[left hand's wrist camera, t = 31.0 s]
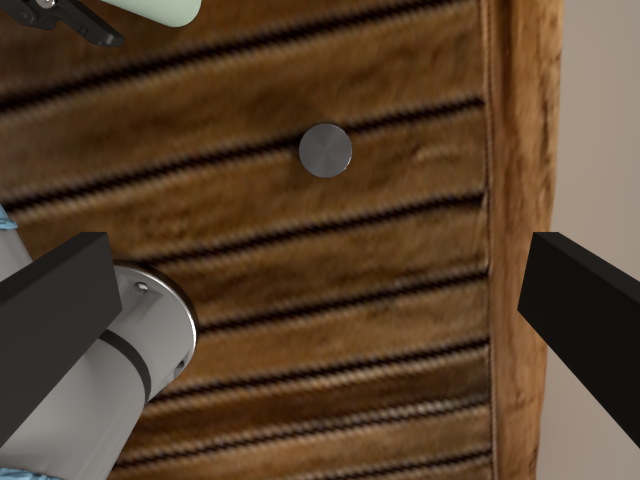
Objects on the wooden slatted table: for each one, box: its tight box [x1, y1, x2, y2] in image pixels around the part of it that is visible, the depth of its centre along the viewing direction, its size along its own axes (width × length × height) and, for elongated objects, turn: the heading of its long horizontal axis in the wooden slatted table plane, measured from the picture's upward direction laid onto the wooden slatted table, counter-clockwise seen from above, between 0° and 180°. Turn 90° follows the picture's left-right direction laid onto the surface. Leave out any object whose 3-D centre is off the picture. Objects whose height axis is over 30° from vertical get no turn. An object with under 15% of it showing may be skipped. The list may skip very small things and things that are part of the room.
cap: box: [299, 122, 352, 178], centre depth 35 cm, size 5×5×2 cm
